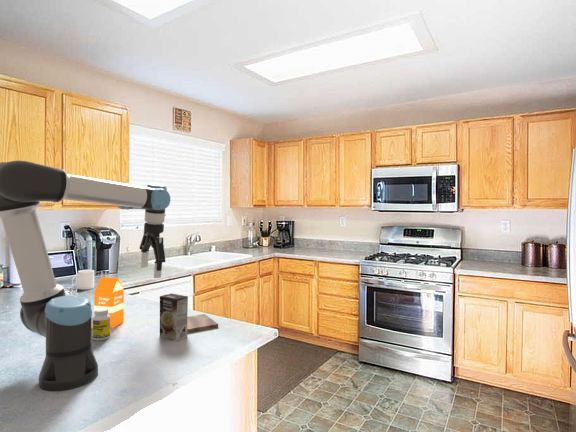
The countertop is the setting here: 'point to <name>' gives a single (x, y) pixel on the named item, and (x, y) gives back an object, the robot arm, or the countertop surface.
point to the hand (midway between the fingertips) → (150, 272)
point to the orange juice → (110, 299)
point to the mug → (85, 279)
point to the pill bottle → (101, 324)
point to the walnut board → (200, 323)
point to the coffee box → (173, 316)
